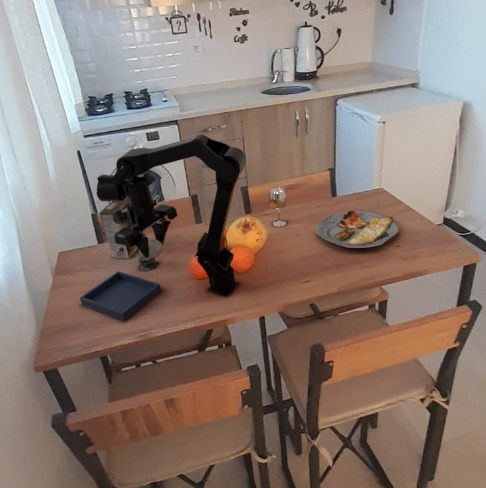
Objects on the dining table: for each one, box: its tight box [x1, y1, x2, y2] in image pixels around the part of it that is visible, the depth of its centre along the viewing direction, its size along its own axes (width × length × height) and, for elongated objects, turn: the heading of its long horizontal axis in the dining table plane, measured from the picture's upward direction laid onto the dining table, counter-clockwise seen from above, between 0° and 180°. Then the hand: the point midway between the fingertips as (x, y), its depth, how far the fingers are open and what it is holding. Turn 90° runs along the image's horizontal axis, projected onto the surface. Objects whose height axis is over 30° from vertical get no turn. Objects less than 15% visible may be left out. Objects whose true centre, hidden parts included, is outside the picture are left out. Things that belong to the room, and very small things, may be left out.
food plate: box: [315, 209, 400, 249], centre depth 145 cm, size 25×23×4 cm
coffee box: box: [99, 200, 139, 259], centre depth 148 cm, size 9×6×16 cm
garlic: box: [148, 237, 164, 259], centre depth 126 cm, size 6×5×5 cm
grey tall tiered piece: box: [135, 232, 158, 271], centre depth 139 cm, size 6×6×12 cm
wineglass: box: [268, 187, 288, 228], centre depth 154 cm, size 6×6×12 cm
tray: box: [79, 270, 163, 322], centre depth 128 cm, size 16×14×2 cm
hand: (153, 252), depth 127 cm, fingers closed on garlic, 5 cm apart
